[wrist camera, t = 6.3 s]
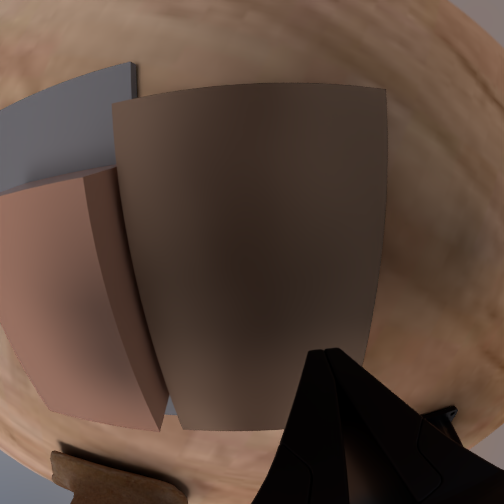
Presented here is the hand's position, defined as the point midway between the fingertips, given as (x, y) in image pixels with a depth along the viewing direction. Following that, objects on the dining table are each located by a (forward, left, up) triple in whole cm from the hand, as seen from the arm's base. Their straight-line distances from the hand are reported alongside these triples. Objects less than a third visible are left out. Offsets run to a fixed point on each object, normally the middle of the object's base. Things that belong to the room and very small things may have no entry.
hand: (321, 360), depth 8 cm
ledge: (+2, 0, -5) cm, 6 cm away
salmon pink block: (+6, 0, -3) cm, 7 cm away
